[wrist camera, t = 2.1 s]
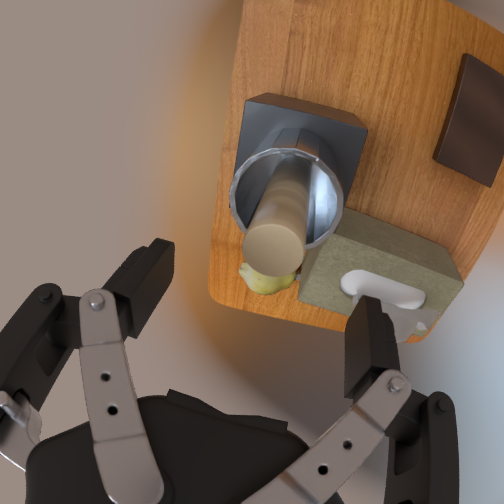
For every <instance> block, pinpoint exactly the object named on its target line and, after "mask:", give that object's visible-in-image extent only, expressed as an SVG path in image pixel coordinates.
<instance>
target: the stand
mask: <svg viewBox="0 0 504 504" xmlns="http://www.w3.org/2000/svg"><path fill="white" fill-rule="evenodd" d="M282 128H303V129H306V130H308V131H311V132H313V133H315V134H318V135H319V136H320V137H321V138H322V139H323V140H324V141H325V142H326V143H327V144H328V145H329V146H330V147H331V148H332V150H333V153H334V155H335V158H336V160H337V163H338V168H339V173H340V179H341V185H342V190H343V210H344V207H345V204H346V201H347V198H348V195H349V191H350V188H351V185H352V182H353V179H354V176H355V173H356V169H357V166H358V163H359V160H360V156H361V153H362V150H363V146H364V143H365V139H366V136H367V132H368V130H367V128H366V127H365V126H364V125H363V124H362V123H361V121H360V120H359V119H358V118H357V117H356V116H355V115H354V114H352V113H349V112H345V111H342V110H338V109H335V108H331V107H328V106H324V105H320V104H316V103H312V102H308V101H304V100H299V99H295V98H290V97H286V96H281V95H276V94H271V93H264V94H261V95H258V96H256V97H253V98H250V99H248V100H246V101H245V106H244V112H243V118H242V125H241V131H240V137H239V143H238V150H237V156H236V163H235V169H234V175H235V173H236V171H237V170H238V169H239V168H240V166H241V165H242V164H243V163H244V161H245V160H246V159H247V158H248V156H249V155H250V154H251V153H252V151H253V150H254V149H255V148H256V147H257V145H258V144H259V143H260V142H261V141H262V140H263V139H264V138H265V137H266V136H267V135H268V134H270V133H273V132H275V131H278V130H280V129H282ZM233 178H234V176H233ZM229 208H231V207H230V203H229ZM338 224H339V223H338ZM337 227H338V225H337ZM337 227H336V229H335V231H334V233H333V234H335V233H336V230H337Z"/></svg>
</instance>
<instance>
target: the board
mask: <svg viewBox="0 0 504 504" xmlns="http://www.w3.org/2000/svg"><path fill="white" fill-rule="evenodd" d="M503 156H504V76H503V75H502V74H500V73H499V72H497V71H496V70H494V69H493V68H491V67H490V66H488V65H487V64H485V63H483V62H482V61H480V60H478V59H477V58H475V57H473V56H472V55H470V54H468V53H467V54H463V55H462V60H461V64H460V68H459V72H458V76H457V80H456V84H455V88H454V92H453V95H452V99H451V102H450V106H449V109H448V112H447V116H446V119H445V122H444V125H443V128H442V131H441V134H440V137H439V140H438V143H437V146H436V149H435V151H434V154H433V157H432V158H433V159H434V160H435V161H436V162H438V163H441V164H443V165H445V166H447V167H449V168H452V169H454V170H456V171H458V172H460V173H462V174H464V175H466V176H468V177H470V178H472V179H474V180H476V181H478V182H480V183H482V184H484V185H486V186H487V187H489V188H491V186H492V184H493V182H494V179H495V177H496V174H497V172H498V169H499V167H500V164H501V161H502V159H503Z"/></svg>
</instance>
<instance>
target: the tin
mask: <svg viewBox="0 0 504 504" xmlns="http://www.w3.org/2000/svg"><path fill="white" fill-rule="evenodd" d="M287 155H297V156H299V157H302V158H304V159H306V160H307V161H308V162H309V163H310V165H311V168H312V181H311V193H310V204H309V215H308V225H307V235H306V244H305V250H307V249H311V248H314V247H316V246H318V245H319V244H321V243H322V242H323V241H325V240H326V239H327V238H328V237H330V236H331V235H332V234H333V233H334V231H335V229H336V227H337V225H338V223H339V221H340V220H341V218H342V213H343V190H342V185H341V179H340V173H339V168H338V163H337V160H336V158H335V155H334V153H333V150H332V148H331V147H330V146H329V145H328V144H327V143H326V142H325V141H324V140H323V139H322V138H321V137H320V136H319V135H318V134H315V133H313V132H311V131H308V130H306V129H303V128H282V129H280V130H278V131H275V132H273V133H270V134H268V135H267V136H266V137H265V138H264V139H263V140H262V141H261V142H260V143H259V144H258V145H257V147H256V148H255V149H254V150H253V151H252V153H251V154H250V155H249V156H248V158H247V159H246V160H245V161H244V163H243V164H242V165H241V166H240V168H239V169H238V170H237V171H236V173H235V175H234V178H233V181H232V184H231V187H230V190H229V199H230V207H231V213H232V215H233V217H234V219H235V221H236V222H237V224H238V226H239V228H240V230H242V232H243V233H244V234H246V232H247V230H248V228H249V225H250V223H251V221H252V219H253V216H254V214H255V212H256V210H257V207H258V205H259V203H260V201H261V198H262V196H263V194H264V192H265V190H266V187H267V185H268V183H269V181H270V178H271V176H272V174H273V172H274V170H275V167H276V165H277V163H278V162H279V160H280V159H281V158H283V157H284V156H287Z"/></svg>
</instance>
